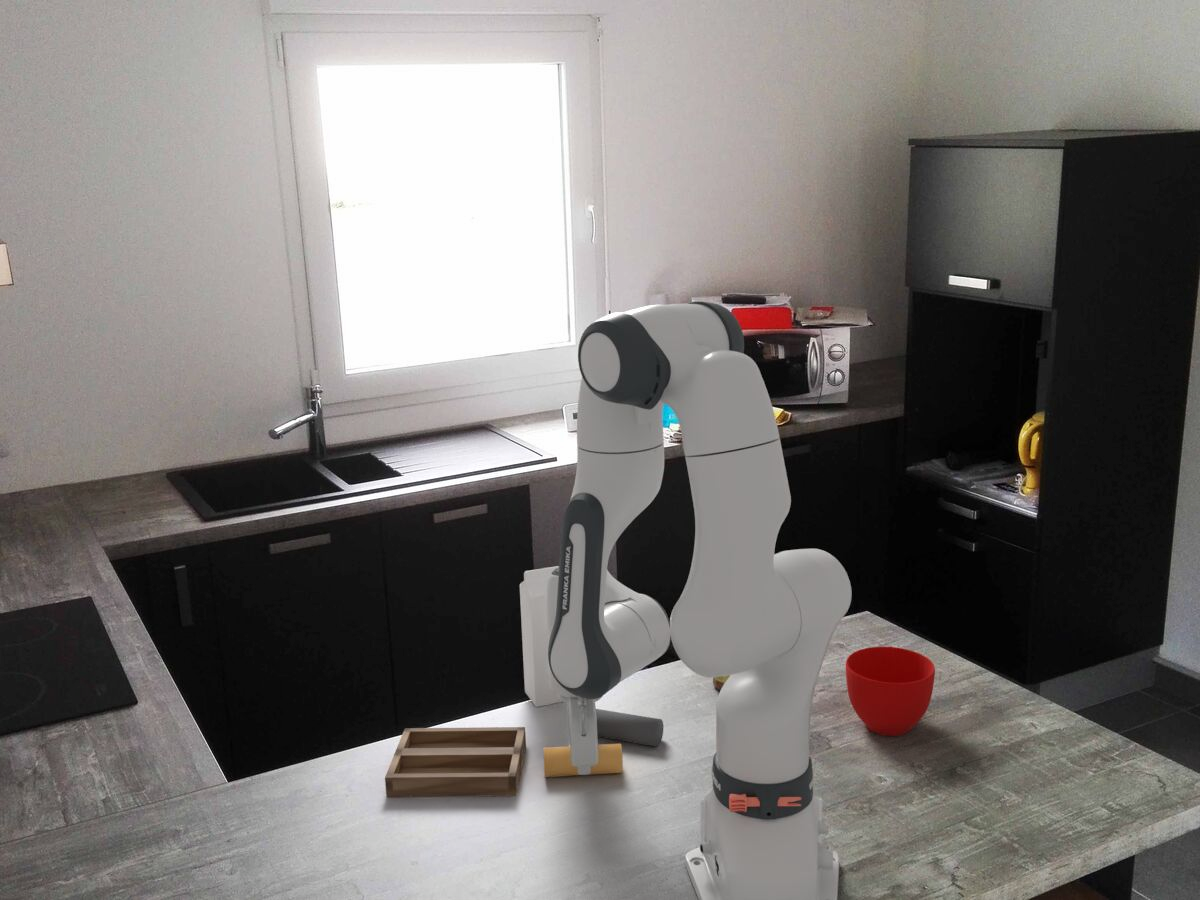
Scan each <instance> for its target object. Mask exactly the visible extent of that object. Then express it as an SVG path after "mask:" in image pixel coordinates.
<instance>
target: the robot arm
mask: <svg viewBox="0 0 1200 900" xmlns="http://www.w3.org/2000/svg"><path fill="white" fill-rule="evenodd" d="M744 351H745V338H744V333H743V329H742V327H741V325H740V323H739V320H738V319H737V317H736V316H735V315H734V314H733V312H732V311H730V310H729V309H728V308H727V307H725V306H723V305H722V304H718V303H714V302H710V301H709V302H708V301H701V300H700V301H699V300H696V301H691V302H688V303H671V304H663V303H661V304H660V303H658V304H651V305H650V304H649V305H645V306H641V307H637V308H633V309H630V310H626V311H623V312H622V311H621V312H620V311H617V312H612V313H610V314H607V315H604V316H602V317H600V318H598V319H596V320H595V321H593V322H592V323H590V324H589V325H588V326H587V327H586V329H584V332H583V333H582V335H581V336H580V339H579V344H578V349H577V360H578V367H579V372H580V374H581V379H580V386H579V391H578V392H579V393H578V403H577V413H576V415H577V416H576V444H577V446H576V447H577V449H576V450H577V452H576V453H577V456H576V457H577V461H576V471H575V479H574V483H573V484H574V485H573V488H572V492H571V496H570V500H569V502H568V504H567V507H566V509H565V512H564V516H563V520H562V526H561V527H562V528H561V536H560V547H559V563H558V564H559V565H558V566H559V567H558V568H556V569H555V570H554V571H553V572H552V573H551V574H550V576H549V579H548V583H547V588H546V627H547V630H548V633H549V637H550V639H549V645H548V652H547V655H548V677H549V687H550V689H551V690H552V691H553V692H555V693H556V694H558V697H559V698H560V700H562V701H563V702H562V703H565V704H567V715H568V716H567V717H568V731H569V733H568V734H569V746H570V753H571V763H572V765H573V766H575V767H577V768H578V774H580V775H579V776H587V775H588V774H589V775H591V774H590V772H591V769H590V766H595V765H597V763H598V745H599V741H598V739H599V738H598V736H597V716H596V709H597V708H596V702H598V701H600V700H601V699H602V698H603V697H604V695H606V694H607V693H608V692H609V691H611V690H612V689H614V688H615V687H616V686H618V684H619V683H620V682H623V681H624V680H626V679H627V678H629V677H631V676H632V675H634V674H636V673H637V672H640V671H641V670H642V669H644V668H645V667H647V666H648V665H650V664H652V663H653V662H655V661H656V660H658V659H659V658H661V657H662V656H663V655H664V654H665V653H666V652H667V651H668V650H669V647H670V644H671V643H672V646H673V648H674V651H675V653H676V655H677V656H678V658H679V659H680V661H681V662H682V663H683V664H684V665H685V666H686V667H687V668H689V670H691V671H692V672H693V673H695V674H696V675H698V676H701V677H703V678H712V679H713V678H714V677H721V676H728V675H730V677H729V678H728V679H727V681H726V682H725V684H724V685H723V687H722V689H721V691H720V690H719V691H720V692H719V693H718V695H717V696H718V697H717V698H716V699H717V700H716V706H715V715H716V716H715V719H716V720H715V722H716V723H715V730H716V732H715V733H716V734H715V735H716V737H715V738H716V739H715V741H716V742H715V743H716V744H715V753H714V754H713V757H712V765H711V778H712V789H711V790H710V791H709V793H708V794H707V795H705V797H703V799H701V800H700V817H699V819H700V820H699V822H700V824H699V846H698V847H695V848H693V849H691V850H689V851H688V852H687V853H686V854H685V856H684V857H685V859H684V865H685V868H686V870H687V873H688V876H689V878H690V880H691V883H692V885H693V889H694V891H695V893H696V896H697V899H698V900H838V894H839V892H838V891H839V877H840V876H839V875H840V858H839V854H838V853H837V852H836V851H835V850H833V849H830V848H829V846H828V844H826V843H825V844H824V843H822V835H828V832H829V822H826V821H823V799H822V798H821V797H820V796H818V795H817V794H815V792H814V780H815V778H814V769H813V761H812V759H811V757H810V736H811V735H810V734H811V715H812V714H811V713H812V705H813V698H814V693H815V689H816V686H817V684H818V683H817V682H818V679H819V676H820V675H819V674H820V671H821V669H822V666H823V663H824V659H825V657H826V653H827V650H828V647H829V645H830V642H831V640H832V637H833V635H834V633H835V631H836V629H837V627H838V626H839V624H840V623H841V621H842V620H843V618H844V617H845V615H846V614H847V613H848V610H849V608H850V606H851V604H852V603H851V602H852V596H853V595H852V586H851V584H852V583H851V581H850V579H849V576H848V572H847V571H846V569H845V567H844V566H843V565H842V563H841V562H840V561H839V560H838V559H837V558H836V557H835V556H834V555H832V554H831V553H829V552H827V551H825V550H822V549H819V548H799V549H790V550H788V549H787V550H783V551H779V552H777V553H775V551H776V550H775V548H776V542H777V539H778V534H779V532H780V529H781V526H782V524H783V523H784V522H785V519H786V518H787V516H788V514H789V512H790V508H791V505H792V504H791V503H792V499H791V498H792V496H791V492H790V485H789V480H788V475H787V474H788V473H787V469H786V465H785V459H784V455H783V448H782V443H781V438H780V433H779V429H778V428H779V427H778V423H777V419H776V416H775V411H774V409H773V405H772V401H771V398H770V395H769V393H768V389H767V387H766V384H765V381H764V379H763V377H762V376H763V375H762V374H761V371H760V368H759V367H758V365H757V363H756V361H755V360H753V358H752V357H750V356H748V355H747V354H746V353H744ZM664 405H666V406H667V407H669V408H670V409H671V410H672V411H673V413H674V414H675V416H676V418H677V421H678V423H679V424H678V425H679V428H680V433H681V439H682V440H681V441H682V447H683V452H684V453H683V454H684V458H685V463H686V467H687V473H688V478H689V480H688V481H689V485H690V491H691V497H692V498H691V499H692V503H693V509H694V510H693V511H694V525H695V526H694V527H695V529H694V530H695V531H694V532H695V533H694V534H695V535H694V546H693V552H692V553H693V554H692V559H691V564H690V565H691V566H690V570H689V574H688V578H687V581H686V583H685V585H684V588H683V591H682V593H680V594H681V595H680V597H679V598H678V600H677V601H676V603H675V604H674V606H673V609H672V610H671V614H670V618H669V617H668V614H667V612H666V610H665V609H664V607H663V606H662V605H661V603H659V601H657V600H656V599H654V597H652V596H650V595H648V594H645V593H640V592H637V591H634V590H633V589H631V588H630V587H627V586H626V585H624V584H623V583H622V582H620V581H619V580H617V579H616V578H615V577H614V576H613V575H612V574H611V573H610V571H609V570H608V566H609V565H608V563H609V558H610V556H611V552H612V550H613V548H614V546H615V544H616V542H617V541H618V539H619V537H620V536H621V535H622V533H624V531H625V530H626V529H627V528H628V526H629V525H630V524H631V523H632V522H633V521H634V520H635V519H636V518H637V517H638V516H639V515H640V514H641V513H642V512H643V511H644V510H646V508H648V506H649V505H650V504H651V503H652V502H653V501H654V500H655V498H656V497H657V495H658V494H659V491H660V489H661V486H662V482H663V478H664V477H663V476H664V471H665V441H664V439H665V438H664V424H663V423H664V422H663V409H664ZM589 775H588V776H589Z"/></svg>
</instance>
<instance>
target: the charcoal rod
mask: <svg viewBox="0 0 1200 900" xmlns="http://www.w3.org/2000/svg"><path fill="white" fill-rule="evenodd" d="M596 716H597V736H598V737H599V738H604V739H609V740H610V739H611V740H615V741H622V742H626V743H627V742H629V743H634V744H639V745H646V746H651V747H659V746H660V744H661V742H662V739H663V736H664V720H663V719H662V718H655V717H649V716H643V715H637V714H630V713H626V712H625V713H624V712H617V711H611V710H605V709H600V708H596Z"/></svg>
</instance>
